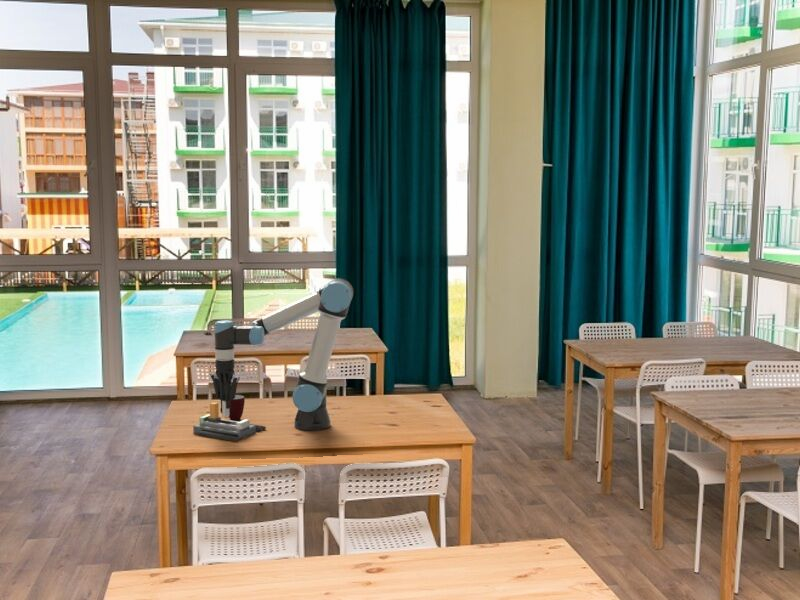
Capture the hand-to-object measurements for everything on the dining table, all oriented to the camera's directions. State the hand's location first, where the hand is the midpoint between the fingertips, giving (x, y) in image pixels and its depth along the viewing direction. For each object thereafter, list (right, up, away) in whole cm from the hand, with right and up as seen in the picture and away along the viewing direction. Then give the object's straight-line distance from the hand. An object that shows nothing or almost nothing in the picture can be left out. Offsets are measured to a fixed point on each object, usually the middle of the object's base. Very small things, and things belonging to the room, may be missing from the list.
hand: (225, 416), depth 356 cm
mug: (-1, -5, +21) cm, 22 cm away
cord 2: (+4, -6, +11) cm, 13 cm away
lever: (-5, -3, +3) cm, 7 cm away
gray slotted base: (-1, -7, +1) cm, 7 cm away
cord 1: (-2, -8, -6) cm, 10 cm away
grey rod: (+3, -6, +9) cm, 11 cm away
